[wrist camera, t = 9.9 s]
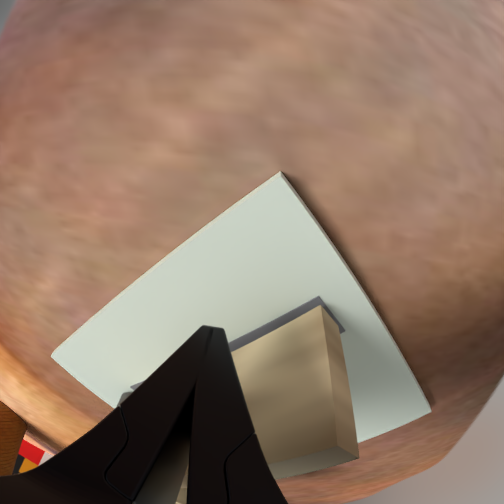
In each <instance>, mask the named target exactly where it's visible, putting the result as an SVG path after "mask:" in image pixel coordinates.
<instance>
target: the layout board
mask: <svg viewBox="0 0 504 504" xmlns="http://www.w3.org/2000/svg"><path fill="white" fill-rule="evenodd" d="M319 305H321V306H322V307H323V308H324V309H325V311H326V312H327V313H328V314H329V315H330V317H331V318H332V319H333V320H334V321H335V323H336V324H337V325H338V327H339V332H340V337H341V342H342V347H343V353H344V358H345V364H346V369H347V375H348V381H349V387H350V393H351V399H352V406H353V413H354V420H355V427H356V434H357V442H358V443H359V442H362V441H365V440H367V439H370V438H373V437H375V436H378V435H380V434H383V433H385V432H388V431H390V430H393V429H395V428H398V427H400V426H402V425H404V424H407V423H409V422H411V421H413V420H415V419H418V418H420V417H422V416H424V415H426V414H428V413H430V412H432V411H431V408H430V405H429V403H428V401H427V399H426V397H425V395H424V393H423V391H422V389H421V387H420V385H419V383H418V382H417V380H416V378H415V376H414V374H413V372H412V371H411V369H410V367H409V365H408V363H407V362H406V360H405V358H404V356H403V355H402V353H401V351H400V349H399V348H398V346H397V344H396V342H395V341H394V339H393V337H392V336H391V334H390V332H389V330H388V329H387V327H386V325H385V324H384V322H383V320H382V319H381V317H380V316H379V314H378V312H377V311H376V309H375V307H374V306H373V304H372V303H371V301H370V299H369V298H368V296H367V295H366V293H365V291H364V290H363V288H362V287H361V285H360V284H359V282H358V280H357V279H356V277H355V276H354V274H353V273H352V271H351V270H350V268H349V267H348V265H347V264H346V262H345V261H344V259H343V258H342V256H341V255H340V253H339V252H338V250H337V249H336V247H335V246H334V244H333V243H332V241H331V240H330V238H329V237H328V236H327V234H326V233H325V231H324V230H323V228H322V227H321V226H320V224H319V223H318V221H317V220H316V218H315V217H314V216H313V214H312V213H311V211H310V210H309V209H308V207H307V206H306V205H305V203H304V202H303V200H302V199H301V198H300V196H299V195H298V194H297V192H296V191H295V190H294V188H293V187H292V186H291V184H290V183H289V182H288V180H287V179H286V178H285V176H284V175H283V174H282V172H281V171H280V172H279V173H277V174H276V175H274V176H273V177H271V178H270V179H269V180H267V181H266V182H264V183H263V184H262V185H260V186H259V187H257V188H256V189H255V190H253V191H252V192H250V193H249V194H248V195H246V196H245V197H243V198H242V199H241V200H239V201H238V202H237V203H235V204H234V205H233V206H231V207H230V208H228V209H227V210H226V211H224V212H223V213H222V214H220V215H219V216H218V217H216V218H215V219H214V220H212V221H211V222H210V223H208V224H207V225H206V226H204V227H203V228H202V229H200V230H199V231H198V232H196V233H195V234H194V235H193V236H191V237H190V238H189V239H187V240H186V241H185V242H183V243H182V244H181V245H180V246H178V247H177V248H176V249H174V250H173V251H172V252H171V253H169V254H168V255H167V256H166V257H164V258H163V259H162V260H160V261H159V262H158V263H157V264H155V265H154V266H153V267H152V268H150V269H149V270H148V271H147V272H145V273H144V274H143V275H142V276H141V277H139V278H138V279H137V280H136V281H134V282H133V283H132V284H131V285H130V286H128V287H127V288H126V289H125V290H123V291H122V292H121V293H120V294H119V295H117V296H116V297H115V298H114V299H113V300H111V301H110V302H109V303H108V304H107V305H106V306H104V307H103V308H102V309H101V310H100V311H98V312H97V313H96V314H95V315H94V316H93V317H91V318H90V319H89V320H88V321H87V322H86V323H85V324H83V325H82V326H81V327H80V328H79V329H78V330H77V331H75V332H74V333H73V334H72V335H71V336H70V337H69V338H67V339H66V340H65V341H64V342H63V343H62V344H61V345H60V346H59V347H57V348H56V349H55V350H54V352H53V353H52V355H51V357H52V358H53V359H54V360H55V361H56V362H57V363H58V364H60V365H61V366H62V367H63V368H64V369H65V370H66V371H67V372H69V373H70V374H71V375H72V376H73V377H75V378H76V379H77V380H78V381H79V382H81V383H82V384H83V385H84V386H85V387H87V388H88V389H89V390H90V391H92V392H93V393H94V394H96V395H97V396H98V397H100V398H101V399H102V400H103V401H105V402H106V403H108V404H109V405H110V406H112V407H113V408H114V409H115V408H116V407H117V404H118V402H119V400H120V398H121V395H122V394H123V393H125V392H130V393H132V392H133V391H134V390H135V389H136V388H137V387H138V386H139V385H140V384H142V383H143V382H144V381H145V380H146V379H147V378H148V377H149V376H150V375H151V374H152V373H153V372H154V371H155V370H156V369H157V368H158V367H159V366H160V365H161V364H162V363H163V362H164V361H166V360H167V359H168V358H169V357H170V356H171V355H172V354H173V353H174V352H175V351H176V350H177V349H178V348H179V347H180V346H181V345H182V344H183V343H184V342H185V341H186V340H187V339H188V338H189V337H190V336H191V335H192V334H193V333H194V332H195V331H196V330H198V329H199V328H200V327H201V326H202V325H208V326H214V327H221V328H224V330H225V333H226V336H227V340H228V343H229V347H230V350H231V352H233V351H235V350H237V349H239V348H241V347H243V346H245V345H247V344H249V343H251V342H253V341H255V340H257V339H259V338H261V337H262V336H264V335H266V334H268V333H270V332H272V331H274V330H276V329H278V328H279V327H281V326H283V325H285V324H287V323H289V322H291V321H292V320H294V319H296V318H298V317H300V316H301V315H303V314H305V313H307V312H309V311H310V310H312V309H314V308H316V307H317V306H319Z"/></svg>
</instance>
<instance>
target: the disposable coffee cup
mask: <svg viewBox="0 0 504 504" xmlns="http://www.w3.org/2000/svg"><path fill="white" fill-rule="evenodd" d="M26 429H27V425H26V424H25V423H24V421H23V420H22V419H21V418H20V417H19V416H17V415H16V414H15V413H14V412H13V411H12V410H11V409H10V408H8V407H7V406H6V405H4V404H3V403H2V402H0V476H5V475H12V473H13V469H14V466H15V462H16V459H17V456H18V453H19V450H20V446H21V443H22V440H23V437H24V435H25V432H26Z"/></svg>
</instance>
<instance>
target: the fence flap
mask: <svg viewBox="0 0 504 504" xmlns="http://www.w3.org/2000/svg"><path fill="white" fill-rule="evenodd" d="M231 354H232V357H233V361H234V364H235V367H236V371H237V374H238V377H239V381H240V384H241V387H242V391H243V394H244V397H245V400H246V403H247V407H248V410H249V413H250V416H251V419H252V422H253V425H254V428H255V434H257V437H258V440H259V443H260V446H261V449H262V451H263V454H264V456H265V459H266V462H267V464H268V467H269V469H270V471H271V473H272V475H273V477H274V479H280V478H286V477H291V476H296V475H300V474H305V473H309V472H313V471H317V470H321V469H325V468H329V467H332V466H336V465H339V464H342V463H346V462H349V461H352V460H355V459H358V458H359V451H358V442H357V434H356V427H355V420H354V413H353V406H352V399H351V393H350V387H349V381H348V375H347V369H346V364H345V358H344V353H343V347H342V342H341V337H340V332H339V327H338V325H337V324H336V323H335V321H334V320H333V319H332V318H331V317H330V315H329V314H328V313H327V312H326V311H325V309H324V308H323V307H322V306H321V305H319V306H317V307H316V308H314V309H312V310H310V311H309V312H307V313H305V314H303V315H301V316H300V317H298V318H296V319H294V320H292V321H291V322H289V323H287V324H285V325H283V326H281V327H279V328H278V329H276V330H274V331H272V332H270V333H268V334H266V335H264V336H262V337H261V338H259V339H257V340H255V341H253V342H251V343H249V344H247V345H245V346H243V347H241V348H239V349H237V350H235V351H233V352H231ZM130 394H131V393H130V392H125V393H123V394H122V395H121V398H120V400H119V402H118V404H117V406H120V403H121V402H123V401H124V400H125V399H126V398H127V397H128V396H129V395H130ZM188 464H189V463H188ZM187 480H188V466H187V469H186V472H185V475H184V478H183V482H182V485H181V488H187Z"/></svg>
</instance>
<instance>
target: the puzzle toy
mask: <svg viewBox="0 0 504 504" xmlns="http://www.w3.org/2000/svg"><path fill="white" fill-rule="evenodd" d="M51 457H53V455H51V454H49V453H47V452H45V451H43V450H41V449H39V448H37V447H36V446H34V445H32V444H30V443H29V442H27V441H25V440H22V443H21V446H20V450H19V453H18V456H17V459H16V462H15V466H14V469H13V473H12V475H13V474H19V473H23V472H26V471H29V470H31V469H33V468H35V467H37V466H39V465H41V464H42V463H44V462H45V461H47V460H48V459H50V458H51Z"/></svg>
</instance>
